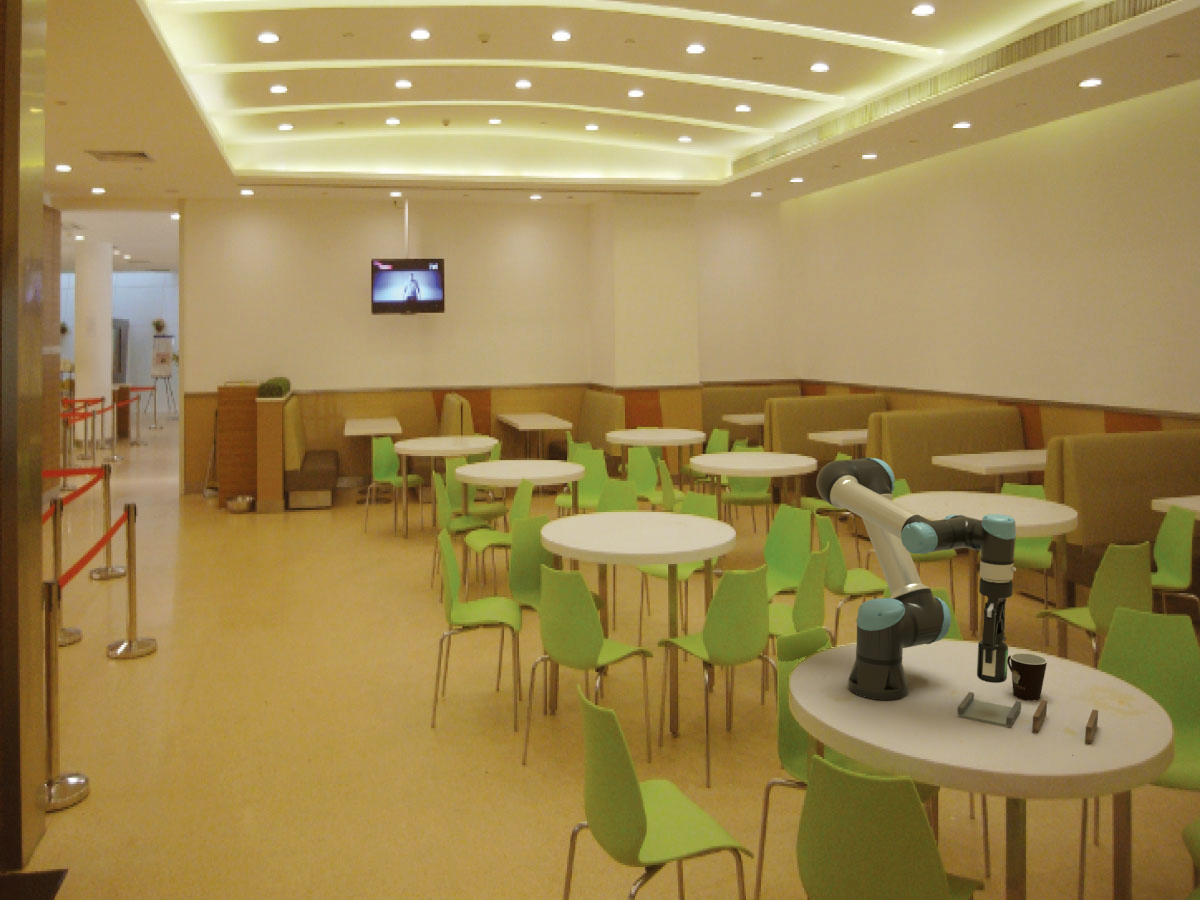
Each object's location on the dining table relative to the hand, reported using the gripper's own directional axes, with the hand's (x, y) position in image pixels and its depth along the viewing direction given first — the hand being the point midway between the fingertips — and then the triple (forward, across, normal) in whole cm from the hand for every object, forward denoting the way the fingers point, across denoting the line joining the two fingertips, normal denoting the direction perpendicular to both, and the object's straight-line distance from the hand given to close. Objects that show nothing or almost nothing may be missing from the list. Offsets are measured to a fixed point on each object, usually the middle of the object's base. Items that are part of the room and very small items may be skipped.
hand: (991, 670), depth 240 cm
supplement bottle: (+2, 0, 0) cm, 2 cm away
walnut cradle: (+11, 0, -17) cm, 20 cm away
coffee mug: (+11, +19, -5) cm, 23 cm away
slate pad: (+11, 0, 0) cm, 11 cm away
